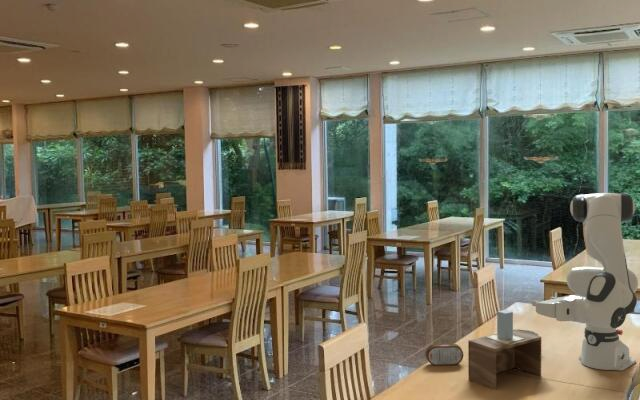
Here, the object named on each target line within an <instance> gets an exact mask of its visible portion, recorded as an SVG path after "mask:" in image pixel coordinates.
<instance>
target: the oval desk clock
mask: <svg viewBox="0 0 640 400" xmlns="http://www.w3.org/2000/svg"><path fill="white" fill-rule="evenodd" d="M425 358H426V360H427V362H429V363H430V364H431V365H432V366H457V365H458V364H461V362H462V361H463V360H464V359H463V358H464V352H463V350H462V347H461V346H460V345H459V344H456V343H433V344H430V345H429V346H428V347H427V348H426V351H425Z"/></svg>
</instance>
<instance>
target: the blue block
mask: <svg viewBox="0 0 640 400" xmlns="http://www.w3.org/2000/svg"><path fill="white" fill-rule="evenodd" d="M496 314H497V315H496V319H497V320H496V321H497V323H496V326H497V328H496V331H497V332H496V334H497V338H501V339H504V340H507V339H511V338H513V330H514V312H513V311H511V310H507V309H502V310H498V311H497V313H496Z"/></svg>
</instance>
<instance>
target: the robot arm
mask: <svg viewBox="0 0 640 400" xmlns="http://www.w3.org/2000/svg"><path fill="white" fill-rule="evenodd" d="M569 206H570V207H569V210H570V213H571V214H570V215H571V216H572V219H574V220H575V221H576V222H581V223H584V222H586V223H585V224H586V225H585V251H586V254H587V256H589V257H590V258H591V259H593V260H595V261H597V262H599V263H600V264H601V265H602V267H599V266H597V267H596V266H585V265H584V266H577V267H572V268H570V270H568V272H567V276H566V284H567V287H568V288H569V289H570V291H572V292H573V293H574V294H569V295H564V296H560V297H559V296H557V297H555V296H550V297H549V299H546V300H541V301H539V300H532V301H531V305H532V306H533V307H535V313H537V314H538V315H541V316H544V317H548V318H552V319H556V321H558V322H572V323H573V322H574V323H580V324H585V328H584V331H583V332H584V333H583V334H584V339H583V340H582V345H581V353H580V354H581V355H579V356H578V359H579V360H580V362H581V364H582V365H584V366H585V367H589V368H591V369H596V370H604V371H605V370H606V371H608V370H609V371H624V370H626V369H628V368H629V367H631V366H632V365H634V364H635V363H636V362H637V359H636V358H633V357H631V356H630V349H629V346H628V345H626V343H624V342H623V341H622V340H621V339H620V337H619V335H620V336H622V335H623V333H624V331H623V329H618V328H620V327H621V326H622V325H623V324H624V323H625V321H626V318H627V315H628V314H630V313H631V312H633V310H635V308H636V307H637V303H638V300H637V299H638V298H637V296H636V294H635V293H636V292H637V290H638V288H639V287H638V286H639V281H638V277H637V275H636V274H635V272H633V270H631V269H629V268H628V265H627V258H626V255H625V254H626V253H625V247H624V240H623V232H622V223H623V222H628V221H630V220H632V218H633V215H634V214H635V211H636V203H635V201H634V199H633V197H632V196H631V195H630V194H629V193H623V192H621V193H617V192H600V193H597V192H596V193H588V194H584V193H581V194H576V195H575V196H574V197H573V198H572V200H571V202H570V205H569Z"/></svg>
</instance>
